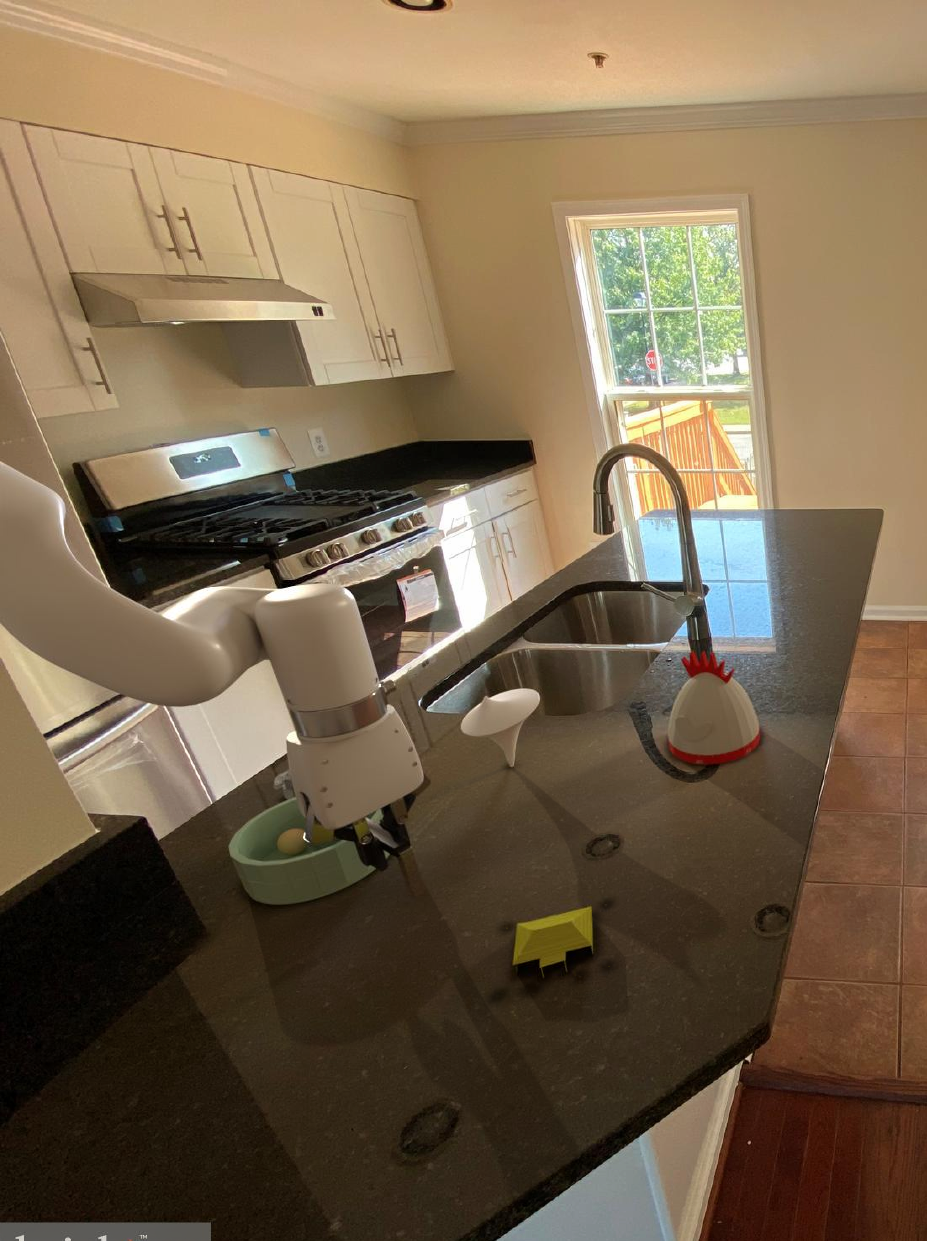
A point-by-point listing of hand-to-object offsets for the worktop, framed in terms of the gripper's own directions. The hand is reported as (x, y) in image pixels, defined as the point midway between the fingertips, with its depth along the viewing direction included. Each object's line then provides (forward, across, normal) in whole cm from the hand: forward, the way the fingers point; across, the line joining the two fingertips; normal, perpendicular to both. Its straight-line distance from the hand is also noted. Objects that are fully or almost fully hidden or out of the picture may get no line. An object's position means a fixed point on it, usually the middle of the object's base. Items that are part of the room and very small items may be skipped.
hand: (388, 858), depth 75 cm
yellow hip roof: (+5, -3, +22) cm, 22 cm away
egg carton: (+5, -8, -31) cm, 32 cm away
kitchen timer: (+5, -43, +9) cm, 44 cm away
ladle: (+3, 0, -4) cm, 5 cm away
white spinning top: (+5, -23, -12) cm, 26 cm away
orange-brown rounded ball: (+3, +2, -17) cm, 17 cm away
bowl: (+5, +1, -14) cm, 14 cm away
